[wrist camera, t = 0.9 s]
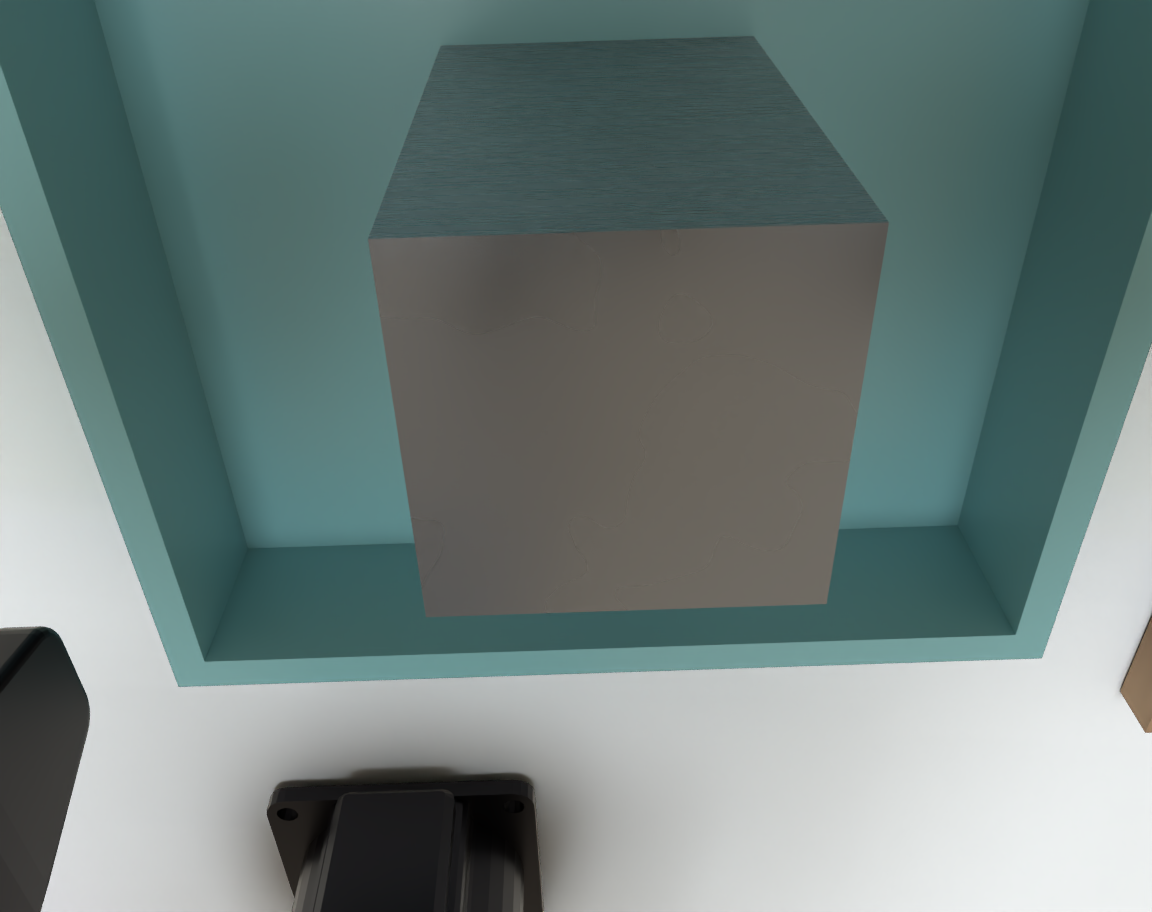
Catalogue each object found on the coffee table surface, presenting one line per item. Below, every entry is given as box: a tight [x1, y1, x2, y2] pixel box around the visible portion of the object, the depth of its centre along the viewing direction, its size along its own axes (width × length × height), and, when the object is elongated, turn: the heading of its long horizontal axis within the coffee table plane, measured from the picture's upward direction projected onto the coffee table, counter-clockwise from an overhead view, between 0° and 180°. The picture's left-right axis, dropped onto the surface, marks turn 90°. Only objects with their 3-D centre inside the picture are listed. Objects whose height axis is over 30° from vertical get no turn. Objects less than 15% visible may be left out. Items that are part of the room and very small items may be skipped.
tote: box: [0, 0, 1152, 687], centre depth 15 cm, size 15×15×3 cm
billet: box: [368, 36, 889, 617], centre depth 13 cm, size 4×4×7 cm
